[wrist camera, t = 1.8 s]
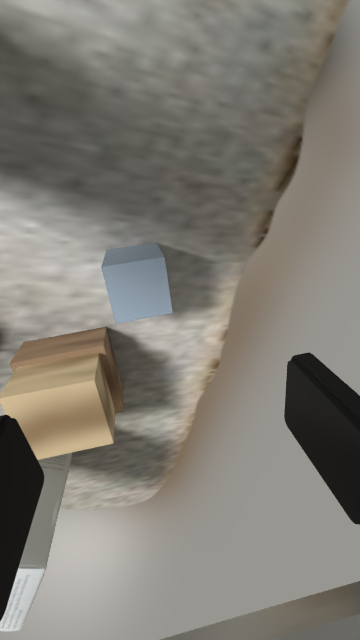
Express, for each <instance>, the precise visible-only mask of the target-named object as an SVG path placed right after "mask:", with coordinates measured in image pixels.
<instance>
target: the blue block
mask: <svg viewBox="0 0 360 640" xmlns="http://www.w3.org/2000/svg"><path fill="white" fill-rule="evenodd" d="M101 268H102V272H103V276H104V280H105V283H106V287H107V291H108V295H109V299H110V303H111V307H112V311H113V315H114V319H115V322H116V324H117V323H122V322H128V321H133V320H138V319H144V318H149V317H154V316H160V315H165V314H171V313H173V311H172V304H171V297H170V290H169V284H168V277H167V270H166V263H165V257H164V255H163V253H162V251H161V250H160V248H159V246H158V244H157V243H150V244H143V245H137V246H131V247H124V248H118V249H112V250H107V251H106V254H105V257H104V260H103V263H102V266H101Z"/></svg>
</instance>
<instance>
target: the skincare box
mask: <svg viewBox="0 0 360 640" xmlns="http://www.w3.org/2000/svg"><path fill="white" fill-rule="evenodd" d="M72 454H73V452H72V453H67V454H63V455H58V456H53V457H49V458H44V459H40V460H38V462H39V464H40V466H41V468H42V470H43V472H44V484H43V488H42V491H41V494H40V498H39V501H38V504H37V508H36V511H35V514H34V518H33V521H32V524H31V528H30V531H29V534H28V538H27V541H26V544H25V548H24V551H23V554H22V558H21V561H20V564H19V568H18V571H17V574H16V578H15V581H14V584H13V588H12V591H11V594H10V598H9V601H8V604H7V608H6V611H5V614H4V616H3V618H2V620H1V621H0V631H18V630H20V629H21V628H22V626H23V624H24V621H25V619H26V617H27V615H28V612H29V610H30V608H31V605H32V603H33V600H34V598H35V596H36V593H37V591H38V588H39V586H40V583H41V581H42V578H43V575H44V573H45V570H46V566H47V561H48V557H49V552H50V548H51V543H52V539H53V535H54V530H55V525H56V520H57V516H58V512H59V508H60V505H61V501H62V497H63V493H64V489H65V484H66V480H67V476H68V472H69V467H70V463H71V459H72Z"/></svg>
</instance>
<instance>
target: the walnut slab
mask: <svg viewBox="0 0 360 640" xmlns="http://www.w3.org/2000/svg"><path fill="white" fill-rule="evenodd" d="M94 353H99V354H100V358H101V362H102V365H103V369H104V372H105V376H106V379H107V383H108V387H109V390H110V394H111V397H112V401H113V405H114V408H115V413H119V412H123V386H122V382H121V379H120V375H119V371H118V368H117V364H116V361H115V357H114V353H113V350H112V346H111V342H110V339H109V335H108V332H107V328H106V327H102V328H97V329H92V330H87V331H81V332H76V333H71V334H65V335H60V336H55V337H49V338H44V339H39V340H33V341H28V342H24V343H23V344H22V346H21V347H20V349H19V350H18V352H17V353H16V355H15V356H14V358H13V359H12V361H11V362H10V366H11V368H12V370H13V372H15V370H16V369H17V367H22V366H28V365H33V364H39V363H44V362H50V361H55V360H61V359H67V358H72V357H78V356H83V355H89V354H94Z"/></svg>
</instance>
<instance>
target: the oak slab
mask: <svg viewBox="0 0 360 640" xmlns="http://www.w3.org/2000/svg"><path fill="white" fill-rule="evenodd" d="M0 404H1V406H2V407H3V409H4V411H5V413H6V415H9V416H10V417H11V418H15V419H16V420H17V422H18V423H19V425H20V427H21V429H22V431H23V433H24V435H25V437H26V439H27V441H28V443H29V445H30V446H31V448H32V450H33V452H34V454H35V456H36V458H37V460H40V459H44V458H49V457H53V456H58V455H63V454H67V453H72V452H76V451H81V450H86V449H90V448H95V447H99V446H104V445H109V444H113V443H114V425H115V408H114V405H113V401H112V397H111V394H110V390H109V387H108V383H107V379H106V376H105V372H104V369H103V365H102V362H101V358H100V354H99V353H94V354H89V355H83V356H78V357H72V358H67V359H61V360H55V361H50V362H44V363H39V364H33V365H28V366H22V367H17V369H16V370H15V372H14V373H13V375H12V377H11V378H10V380H9V382H8V383H7V385H6V386H5V388H4V390H3V391H2V393H1V395H0Z"/></svg>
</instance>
